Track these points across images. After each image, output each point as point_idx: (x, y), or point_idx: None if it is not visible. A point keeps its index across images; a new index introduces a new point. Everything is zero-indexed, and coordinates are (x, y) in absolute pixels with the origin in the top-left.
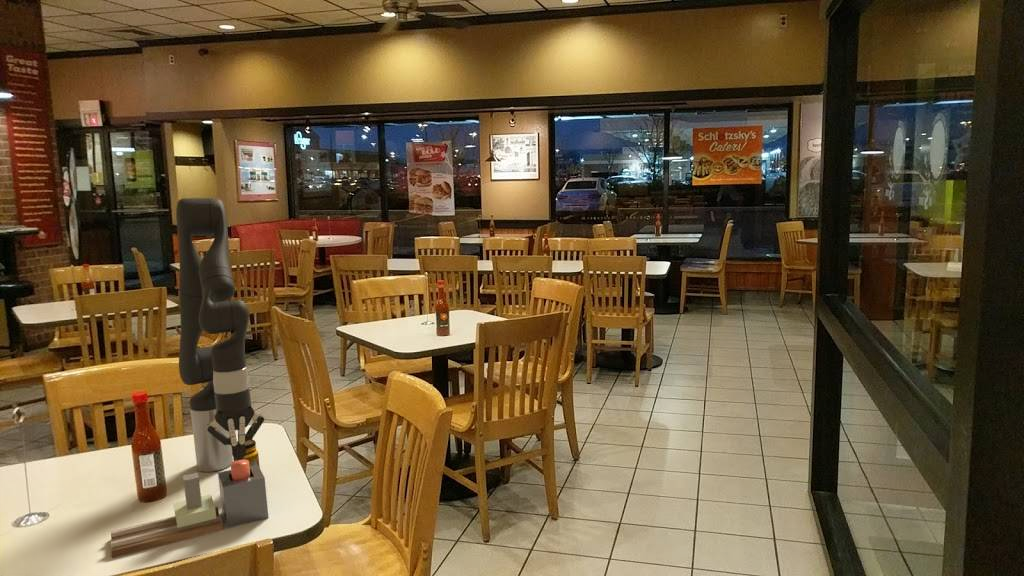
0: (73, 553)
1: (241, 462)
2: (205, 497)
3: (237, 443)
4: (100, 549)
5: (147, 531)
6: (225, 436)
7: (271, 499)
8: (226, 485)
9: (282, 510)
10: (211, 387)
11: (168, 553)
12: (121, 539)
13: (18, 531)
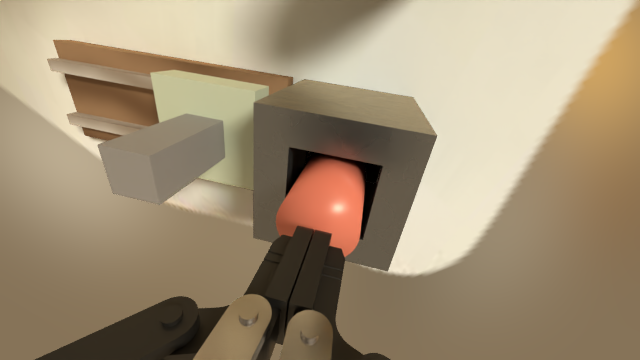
0: (17, 55)
1: (325, 229)
2: (237, 103)
3: (284, 318)
4: (64, 76)
5: (132, 96)
6: (162, 346)
7: (446, 96)
8: (264, 235)
9: (430, 181)
10: None
11: (189, 185)
12: (85, 120)
13: None
